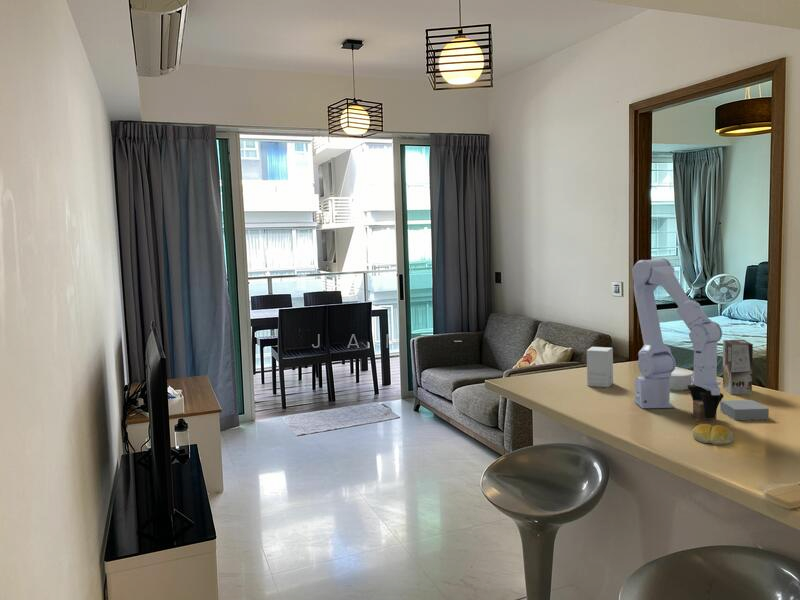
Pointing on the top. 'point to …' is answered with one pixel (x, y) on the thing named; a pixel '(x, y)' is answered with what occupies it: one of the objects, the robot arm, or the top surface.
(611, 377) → the supplement box
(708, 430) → the bread roll
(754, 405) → the block
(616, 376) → the top surface
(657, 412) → the top surface
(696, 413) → the walnut block
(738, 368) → the coffee box
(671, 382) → the ramekin
